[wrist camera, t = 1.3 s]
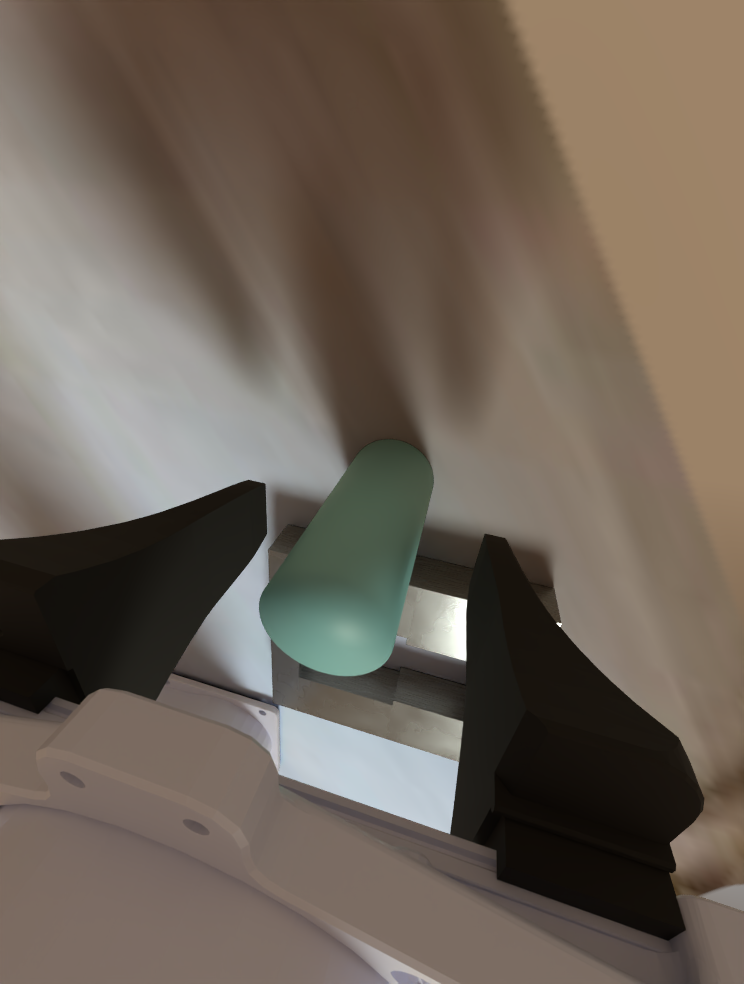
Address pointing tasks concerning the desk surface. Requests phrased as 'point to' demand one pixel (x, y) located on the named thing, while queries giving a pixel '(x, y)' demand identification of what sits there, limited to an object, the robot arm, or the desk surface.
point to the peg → (352, 565)
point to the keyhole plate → (389, 693)
